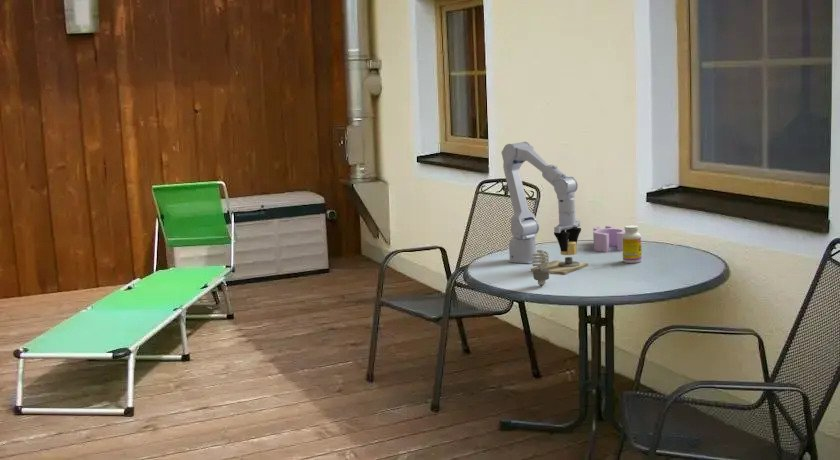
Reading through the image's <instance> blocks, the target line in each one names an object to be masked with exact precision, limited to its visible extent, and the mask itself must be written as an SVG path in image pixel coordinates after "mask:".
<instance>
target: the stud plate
mask: <svg viewBox="0 0 840 460" xmlns="http://www.w3.org/2000/svg"><path fill="white" fill-rule="evenodd" d="M545 265H547V264H545ZM545 265H542V266H541V267H543V266H545ZM588 266H589V263H587V262H579V261H577V260H575V261H573V257H572V256H566V257H564V260H552V261H549V266H548V267H546V268H545V269H548V270H549V274H556V275H568V274H570V273H573V272H575V271H578V270H581V269H583V268H586V267H588ZM535 269H539V267H538V266H534V267H533V268H530V272H533V270H535Z"/></svg>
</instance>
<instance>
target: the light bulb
mask: <svg viewBox="0 0 840 460" xmlns="http://www.w3.org/2000/svg"><path fill="white" fill-rule="evenodd" d="M532 256H536V257H532V259H533V261H532V263H531V264H532V266H533V267H539V269H535V270H533V271H532V277H533V279H534V280H535V281H537V284H538V285H539V286H541V287H543V286H544V285H546V281H547V280H549V279H550V273H549V270H548V269H545V268H546V267H548V266H549V262H550V256H549V252H547V251H545V250H542V249H536V253H535V254H532ZM535 259H541V260H535ZM545 264H547V265H545ZM542 265H545V266H543V267H541V266H542Z"/></svg>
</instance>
